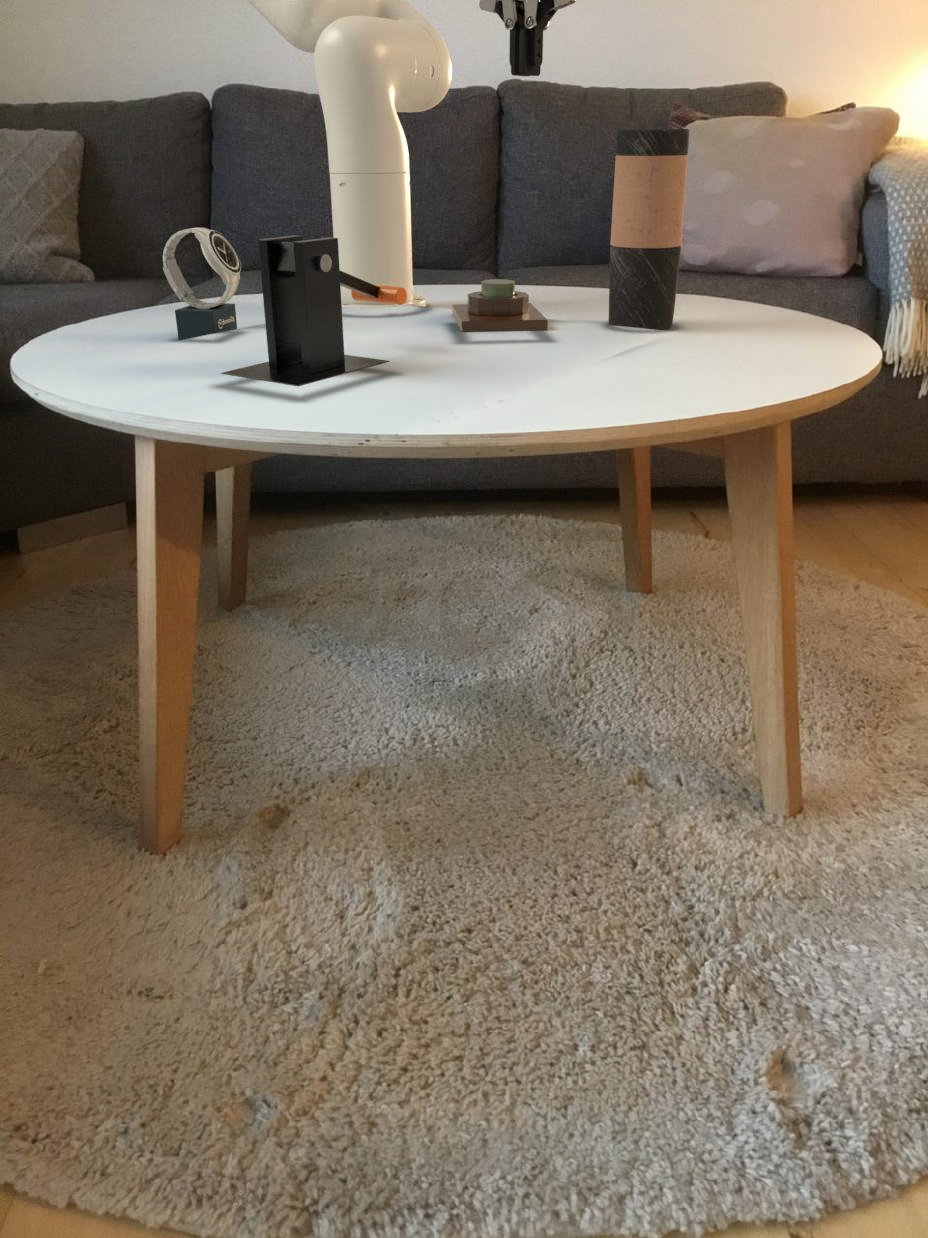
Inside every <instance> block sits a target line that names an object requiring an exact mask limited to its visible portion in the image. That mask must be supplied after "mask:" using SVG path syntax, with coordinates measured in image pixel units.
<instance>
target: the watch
mask: <svg viewBox="0 0 928 1238" xmlns="http://www.w3.org/2000/svg"><path fill="white" fill-rule="evenodd" d="M190 233H192V234H194V237H195V238H196V239H197V241H199V243H200V249H201V251H202V255H203V256H204V258H205V260H206V261H207V263H208V265H209V266H210V267H211V269H212V270H213V271H214V272H215V273H216V274H217V275H219V276H220V278H221V280H222V283H223V284H224V285H225V290H224V291H223V294H222V296H221V297H220V298H219V299H218V300H217V301H216V302H206V301H203V300H200V299H199V298H196V296H194V291H193V289H191V287H190V286H189V284H188V283H187V281H186V279H185V277H184V275H183V274H182V273H183V272H182V270H181V269H180V266H179V265H178V263H177V259H176V258H175V253H176V248H177V246H178V244H179V242H181V240H182V239H183V238H184V237H185V236H186V235H188V234H190ZM162 265H163V267H162V271H163V273H164V275H165V277H166V280H167V282H168V284H169V286H170V287H171V289H172V291H173V292H174V294H175V295H176V296H177V298H178V299H179V301H181V302H183V303H186V304H187V305H186V306H184V307H180V308H177V309H175V310H174V313H175V320H176V321H175V323H176V331H177V338H178V341H183V340H187V339H188V340H189V339H195V338H198V337H203V336H208V335H214V334H219V333H224V332H229V331H234V330H235V331H236V330H238V323H237V311H236V303H229V301H230V300H231V299H232V298H233V296H234V295H235V293H236V292H237V290H238V287H239V284H240V280H241V274H240V273H241V271H242V263H241V260H240V257H239V255H238V252H237V251H236V249H235V248H234V246H233V245H232V243H231V242H230V241H229V240H228V239H227V237H225V235H223V234H222V233H221V232H219V231H217V230H215V229H214V230H213V229H209V228H207V227H192V228H186V229H185V228H184V229H181V230H179V231H177V232H175V233H173V234H172V235H171V236H170V237H169V238H168V240H167V241H166V243H165V246H164V247H163V252H162ZM227 302H228V303H227Z"/></svg>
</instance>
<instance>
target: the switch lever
mask: <svg viewBox="0 0 928 1238" xmlns="http://www.w3.org/2000/svg"><path fill="white" fill-rule="evenodd" d="M277 271H279V272H282V273H285V274H287V275H290V276H292V277H295V278H296V273H295V260H294V246H293V242H281V248H280V254H279V260H278V267H277ZM340 286H343V287H345V288H348V289H350V290H351V295H352V297H353V299H354V300H357V301H367V302H377V303H386V304H396V305H403V304H404V303H405V301H406V298H407V293H406V290H405V289H404V288H403V287H393V286H382V285H373V284H371V283H369V282H366V281H364V280H361V279H359V278H357V277H354V276H352V275H350V274H347V273H345V272H343V271H340Z"/></svg>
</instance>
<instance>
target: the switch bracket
mask: <svg viewBox="0 0 928 1238" xmlns="http://www.w3.org/2000/svg"><path fill="white" fill-rule="evenodd" d="M257 241H258V242H257V243H258V255H259V264H260V265H259V266H260V276H261V288H262V299H263V301H262V302H263V311H264V322H265V334H266V344H267V345H266V346H267V357H268V361H265V362H261V363H257V364H253V365H249V366H244V367H239V368H236V369H235V368H234V369H230V370H226V371H223V372H221V373H220V374H222V375H226V376H227V375H228V376H234V377H238V378H239V377H240V378H246V379H249V380H250V379H251V380H256V381H257V380H258V381H264V382H268V383H274V384H275V383H276V384H280V385H288V386H294V387H300V386H304V385H308V384H312V383H315V382H320V381H323V380H326V379H330V378H334V377H338V376H342V375H346V374H349V373H353V372H356V371H360V370H363V369H367V368H371V367H375V366H379V365H382V364H386V363H389V362H390V360H386V359H381V358H372V357H365V356H358V355H351V354H345V343H344V325H343V308H342V304H341V287H340V269H339V251H338V238H333V237H321V238H315V239H314V238H313V239H306V240H305V239H304V238H303V236H302V235H286V236H277V237H275V236H274V237H266V238H260V239H258V240H257ZM281 242H293V246H294V260H295V273H296V278H295V277H292V276H290V275H287V274H285V273H282V272H279V271H277V267H278V260H279V254H280V248H281Z"/></svg>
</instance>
